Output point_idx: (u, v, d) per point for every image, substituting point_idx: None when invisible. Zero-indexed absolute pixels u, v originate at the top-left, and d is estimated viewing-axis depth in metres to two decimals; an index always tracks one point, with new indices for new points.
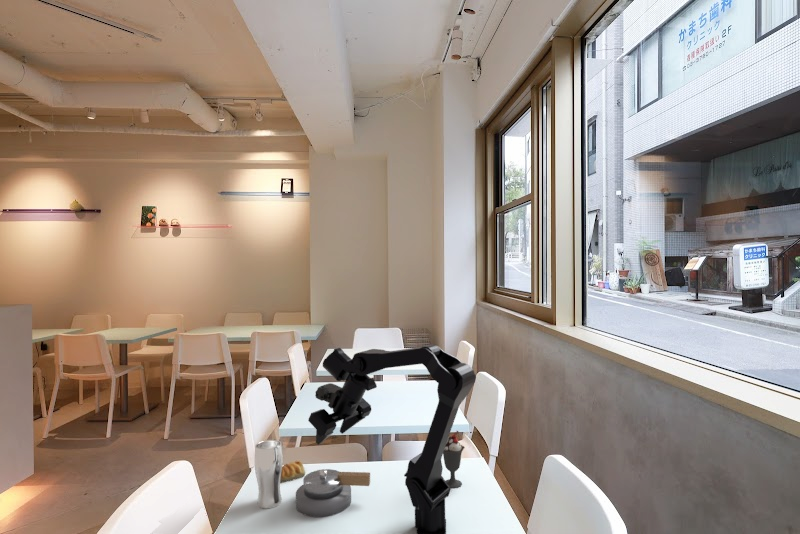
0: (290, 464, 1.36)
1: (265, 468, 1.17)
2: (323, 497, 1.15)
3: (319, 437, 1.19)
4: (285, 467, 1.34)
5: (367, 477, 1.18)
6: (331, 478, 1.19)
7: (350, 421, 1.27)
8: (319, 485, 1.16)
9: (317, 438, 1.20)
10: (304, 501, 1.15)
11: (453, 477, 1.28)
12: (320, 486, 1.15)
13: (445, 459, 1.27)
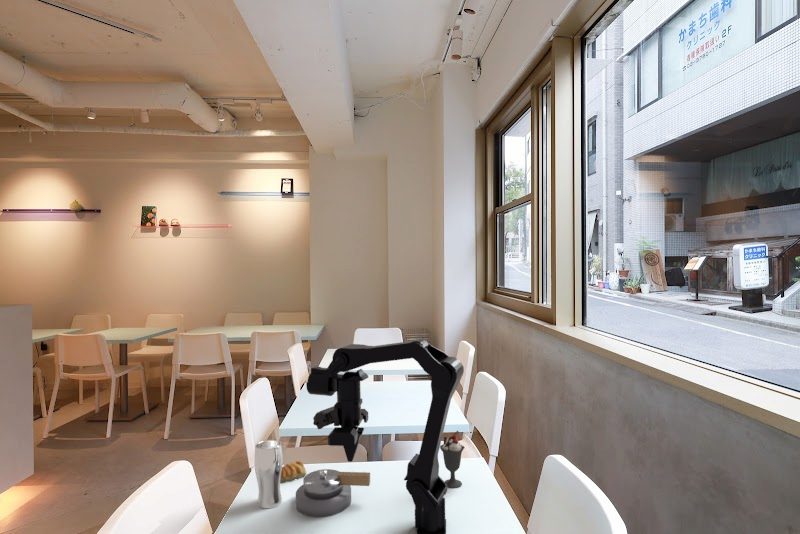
0: (291, 464, 1.35)
1: (265, 468, 1.17)
2: (323, 497, 1.15)
3: (350, 451, 1.13)
4: (286, 467, 1.34)
5: (367, 477, 1.18)
6: (331, 478, 1.19)
7: None
8: (319, 485, 1.16)
9: (348, 454, 1.13)
10: (304, 501, 1.15)
11: (453, 477, 1.28)
12: (320, 486, 1.15)
13: (445, 459, 1.27)
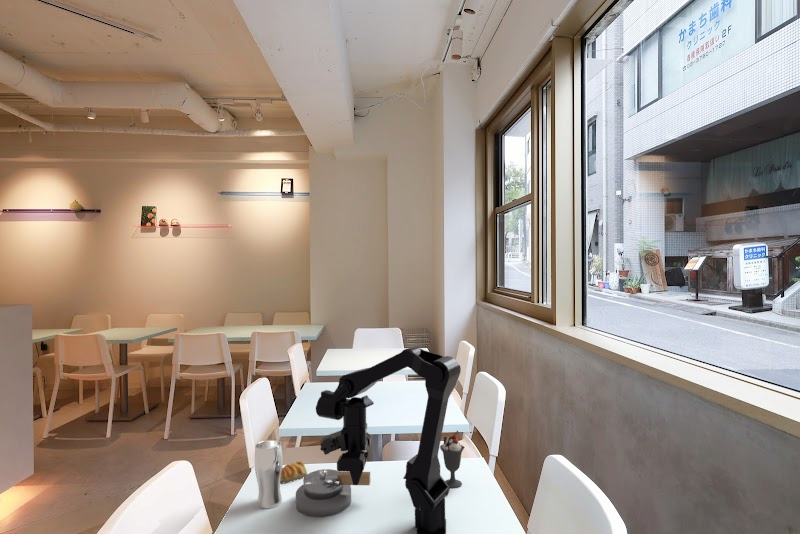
0: (292, 465, 1.35)
1: (265, 468, 1.17)
2: (323, 497, 1.15)
3: (356, 475, 1.16)
4: (287, 468, 1.34)
5: (367, 476, 1.18)
6: (331, 478, 1.19)
7: None
8: (319, 485, 1.16)
9: (354, 478, 1.16)
10: (304, 501, 1.15)
11: (453, 477, 1.28)
12: (320, 486, 1.15)
13: (445, 459, 1.27)
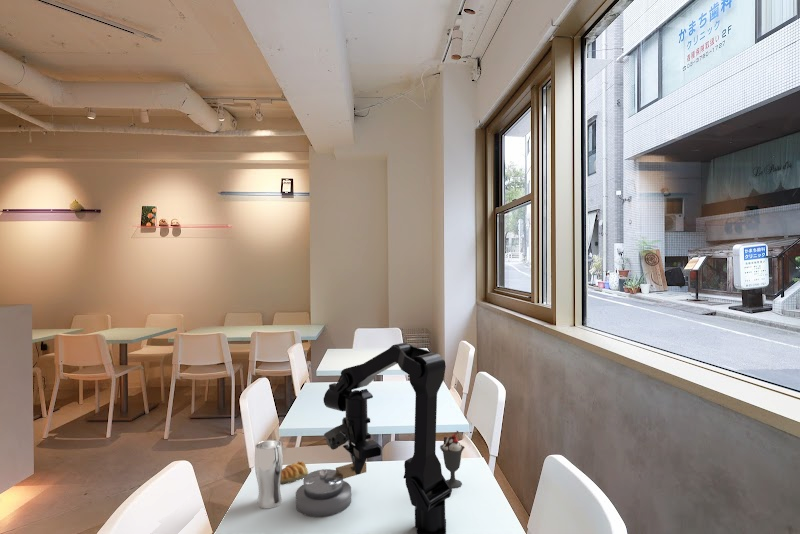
0: (293, 465, 1.35)
1: (265, 468, 1.17)
2: (336, 494, 1.16)
3: (360, 464, 1.22)
4: (288, 468, 1.33)
5: (365, 464, 1.25)
6: (331, 475, 1.21)
7: None
8: (330, 483, 1.16)
9: (357, 468, 1.22)
10: (304, 501, 1.15)
11: (453, 477, 1.28)
12: (333, 484, 1.16)
13: (445, 459, 1.27)
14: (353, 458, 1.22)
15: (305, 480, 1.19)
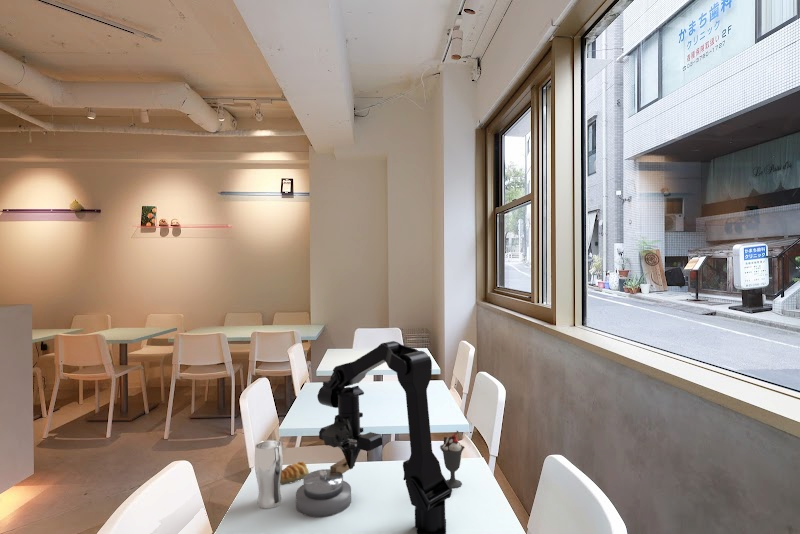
0: (293, 465, 1.35)
1: (265, 468, 1.17)
2: (341, 490, 1.18)
3: (354, 458, 1.26)
4: (289, 468, 1.33)
5: None
6: (329, 474, 1.22)
7: None
8: (335, 481, 1.18)
9: (352, 462, 1.26)
10: (304, 501, 1.15)
11: (453, 477, 1.28)
12: (339, 481, 1.18)
13: (445, 459, 1.27)
14: (348, 453, 1.25)
15: (308, 483, 1.17)
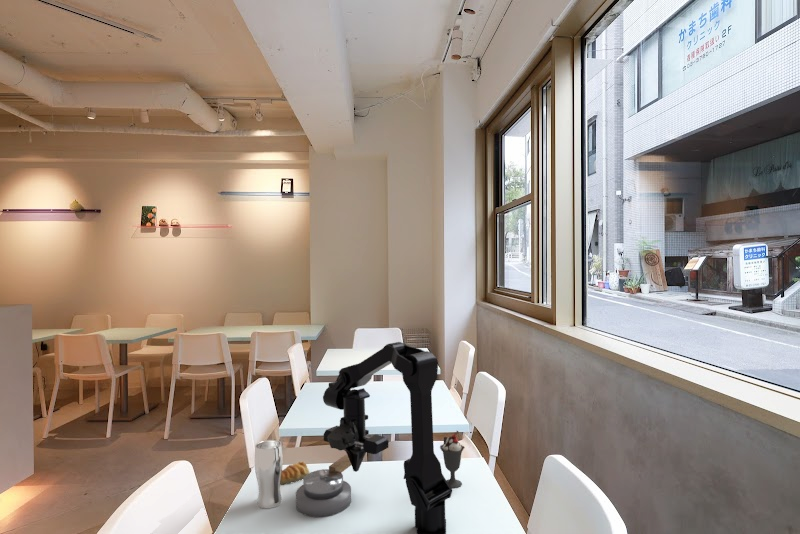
0: (294, 465, 1.35)
1: (265, 468, 1.17)
2: (342, 489, 1.19)
3: (359, 461, 1.25)
4: (289, 468, 1.33)
5: None
6: (329, 474, 1.22)
7: None
8: (336, 480, 1.18)
9: (357, 465, 1.25)
10: (304, 501, 1.15)
11: (453, 477, 1.28)
12: (340, 480, 1.18)
13: (445, 459, 1.27)
14: (354, 456, 1.24)
15: (308, 484, 1.16)
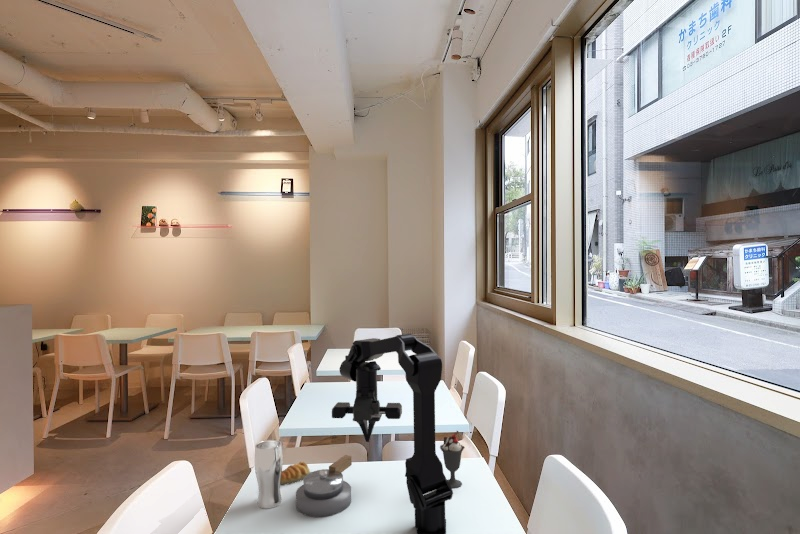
0: (295, 465, 1.34)
1: (265, 468, 1.17)
2: (342, 489, 1.19)
3: (372, 430, 1.29)
4: (290, 469, 1.33)
5: (350, 457, 1.30)
6: (329, 474, 1.22)
7: (366, 423, 1.30)
8: (336, 480, 1.18)
9: (370, 435, 1.28)
10: (304, 501, 1.15)
11: (453, 477, 1.28)
12: (340, 480, 1.18)
13: (445, 459, 1.27)
14: (369, 426, 1.27)
15: (308, 484, 1.16)
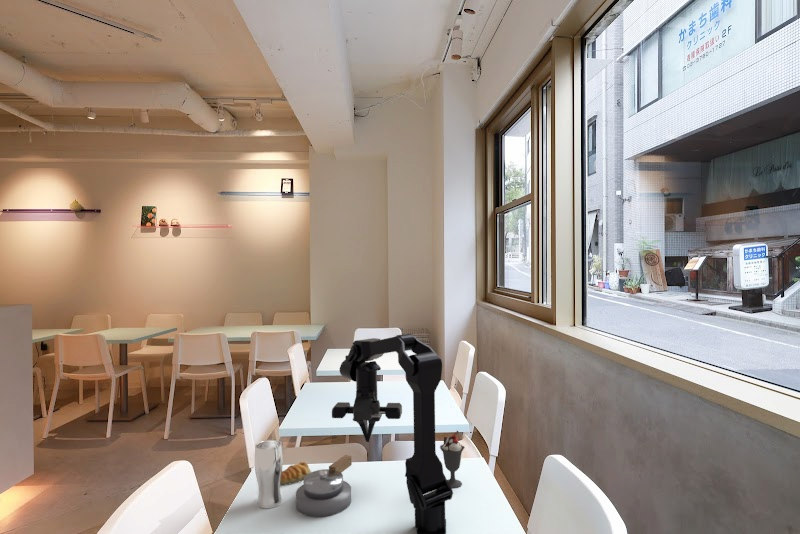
0: (295, 466, 1.34)
1: (265, 468, 1.17)
2: (342, 489, 1.19)
3: (372, 430, 1.29)
4: (291, 469, 1.33)
5: (350, 457, 1.30)
6: (329, 474, 1.22)
7: (366, 423, 1.30)
8: (336, 480, 1.18)
9: (370, 435, 1.28)
10: (304, 501, 1.15)
11: (453, 477, 1.28)
12: (340, 480, 1.18)
13: (445, 459, 1.27)
14: (369, 426, 1.27)
15: (308, 484, 1.16)
